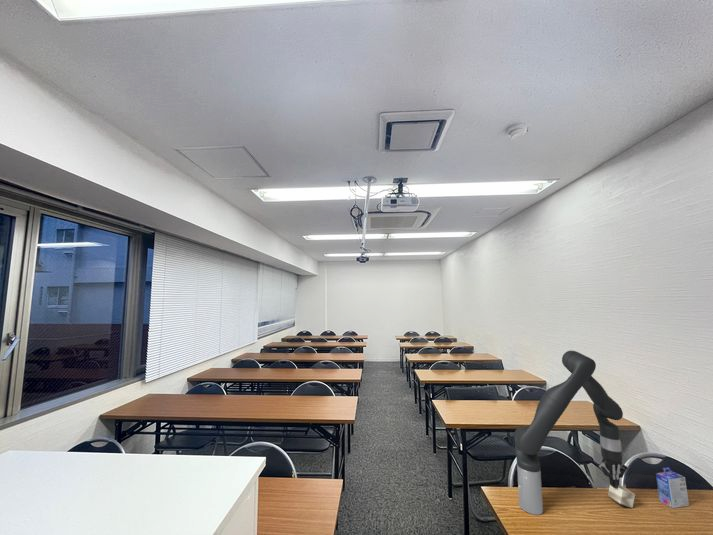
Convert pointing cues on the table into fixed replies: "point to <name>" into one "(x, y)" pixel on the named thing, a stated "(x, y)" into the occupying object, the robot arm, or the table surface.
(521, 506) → the robot arm
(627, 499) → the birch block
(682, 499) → the ink cartridge box
